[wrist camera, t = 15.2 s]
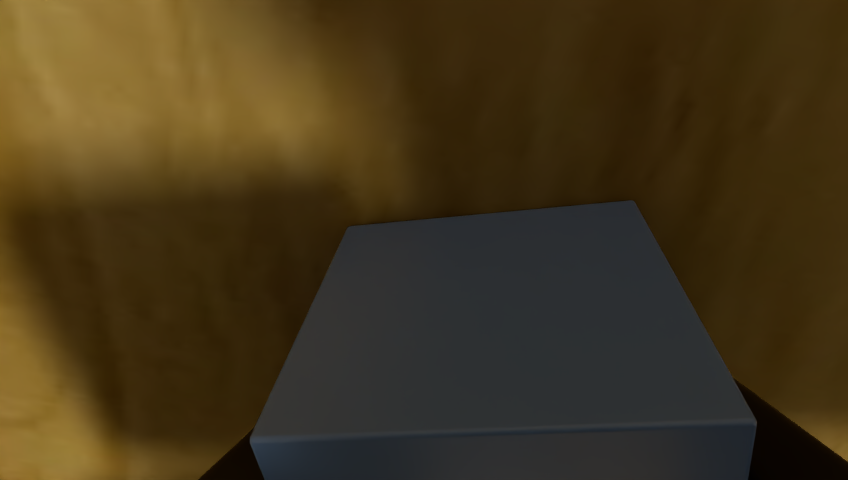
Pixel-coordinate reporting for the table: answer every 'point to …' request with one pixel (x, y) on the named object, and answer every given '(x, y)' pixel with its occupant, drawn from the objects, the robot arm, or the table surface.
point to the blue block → (504, 359)
